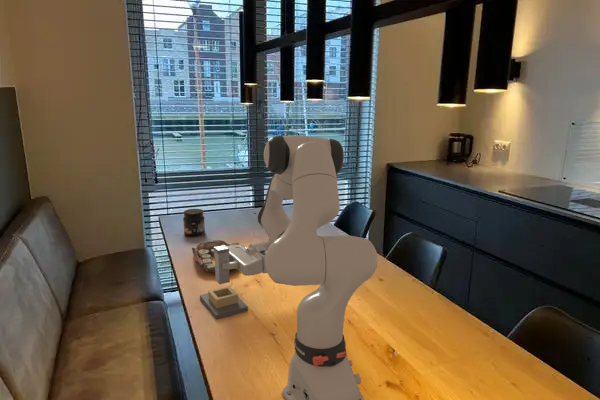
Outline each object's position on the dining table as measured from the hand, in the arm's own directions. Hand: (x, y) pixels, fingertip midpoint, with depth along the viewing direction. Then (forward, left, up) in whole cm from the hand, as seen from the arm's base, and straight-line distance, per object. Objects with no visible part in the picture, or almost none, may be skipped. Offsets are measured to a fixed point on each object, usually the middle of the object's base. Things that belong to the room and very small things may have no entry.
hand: (219, 263), depth 144 cm
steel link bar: (0, -1, -7) cm, 7 cm away
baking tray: (+38, -7, -16) cm, 41 cm away
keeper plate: (0, -1, -15) cm, 15 cm away
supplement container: (+79, -2, -15) cm, 81 cm away
